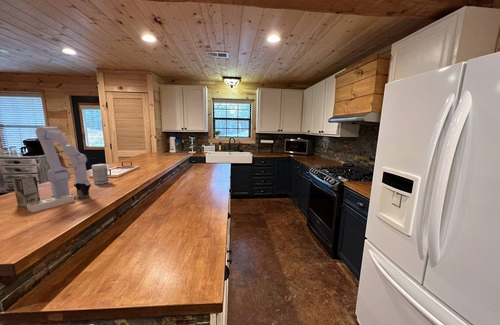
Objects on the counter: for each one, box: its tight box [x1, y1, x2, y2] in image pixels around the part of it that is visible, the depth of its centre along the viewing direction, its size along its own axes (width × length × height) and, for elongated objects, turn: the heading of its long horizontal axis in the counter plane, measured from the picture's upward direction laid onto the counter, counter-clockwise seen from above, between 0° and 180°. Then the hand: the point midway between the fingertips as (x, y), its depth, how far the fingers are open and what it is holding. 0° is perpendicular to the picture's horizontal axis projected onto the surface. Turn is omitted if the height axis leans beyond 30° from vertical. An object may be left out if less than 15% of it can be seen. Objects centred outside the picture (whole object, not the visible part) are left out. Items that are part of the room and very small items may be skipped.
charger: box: [74, 189, 90, 199], centre depth 128 cm, size 6×4×5 cm
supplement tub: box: [91, 163, 110, 185], centre depth 160 cm, size 10×10×15 cm
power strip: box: [26, 194, 75, 213], centre depth 115 cm, size 18×6×4 cm, turn 154°
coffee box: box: [11, 175, 41, 208], centre depth 115 cm, size 9×6×16 cm
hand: (83, 194), depth 129 cm, fingers closed on charger, 4 cm apart
